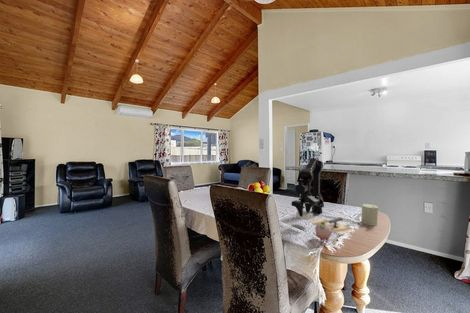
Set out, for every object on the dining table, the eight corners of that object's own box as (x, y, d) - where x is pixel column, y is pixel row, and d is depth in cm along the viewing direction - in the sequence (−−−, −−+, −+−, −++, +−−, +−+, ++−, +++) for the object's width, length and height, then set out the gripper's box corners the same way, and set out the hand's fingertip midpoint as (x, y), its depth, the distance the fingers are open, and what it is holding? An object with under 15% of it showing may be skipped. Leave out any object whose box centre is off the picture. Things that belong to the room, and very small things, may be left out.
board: (308, 224, 141) (308, 222, 141) (321, 220, 150) (321, 217, 149) (341, 236, 124) (341, 234, 124) (354, 231, 132) (354, 228, 132)
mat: (292, 226, 138) (292, 225, 138) (302, 222, 144) (302, 222, 144) (305, 231, 130) (305, 231, 130) (315, 227, 136) (315, 227, 136)
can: (369, 226, 140) (370, 207, 139) (357, 221, 149) (358, 203, 148) (380, 224, 142) (381, 206, 141) (368, 219, 151) (369, 202, 150)
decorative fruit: (332, 244, 114) (333, 226, 114) (315, 242, 116) (316, 224, 116) (329, 237, 123) (330, 219, 123) (314, 235, 125) (315, 218, 125)
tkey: (331, 229, 130) (331, 221, 130) (327, 228, 132) (328, 220, 132) (342, 225, 136) (343, 218, 136) (339, 224, 138) (339, 217, 138)
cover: (296, 216, 138) (296, 211, 138) (302, 214, 142) (302, 209, 141) (306, 220, 132) (307, 215, 131) (312, 218, 135) (313, 213, 135)
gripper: (306, 195, 124) (305, 222, 125) (325, 191, 134) (324, 216, 136) (291, 192, 133) (290, 217, 134) (310, 188, 143) (309, 211, 145)
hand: (304, 215), depth 137 cm, fingers closed on cover, 6 cm apart
